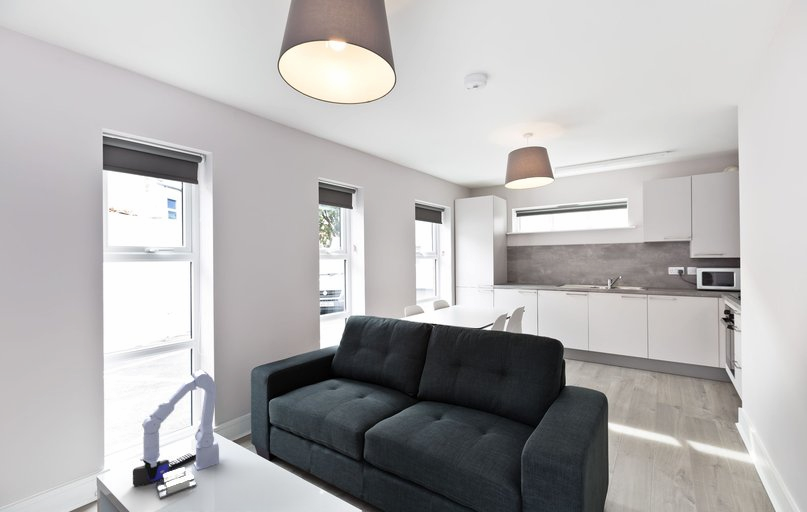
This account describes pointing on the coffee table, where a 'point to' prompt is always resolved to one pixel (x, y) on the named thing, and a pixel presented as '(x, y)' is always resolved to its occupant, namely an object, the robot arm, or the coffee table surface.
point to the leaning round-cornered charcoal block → (142, 475)
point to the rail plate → (175, 483)
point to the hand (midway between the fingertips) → (151, 476)
